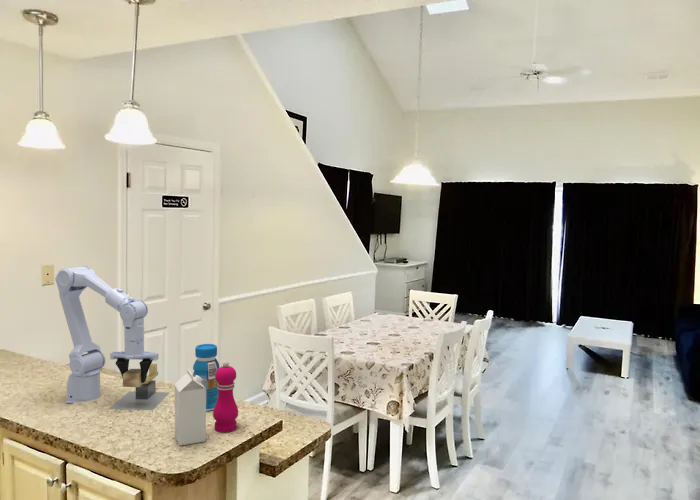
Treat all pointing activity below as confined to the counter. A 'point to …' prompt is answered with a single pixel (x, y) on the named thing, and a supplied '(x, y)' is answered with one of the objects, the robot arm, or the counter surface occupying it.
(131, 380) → the oak cover
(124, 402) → the housing plate
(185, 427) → the milk carton
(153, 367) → the latch bolt
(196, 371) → the beverage bottle
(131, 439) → the counter surface
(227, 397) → the pepper mill
